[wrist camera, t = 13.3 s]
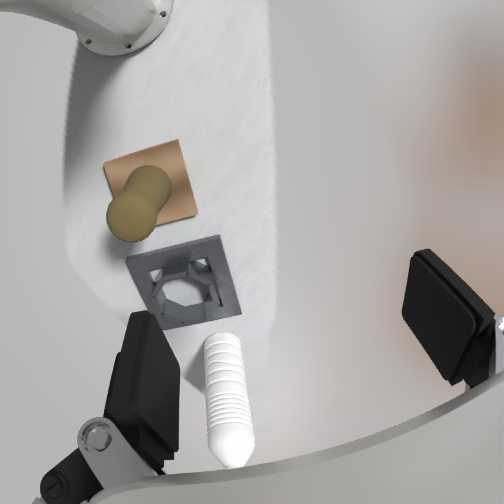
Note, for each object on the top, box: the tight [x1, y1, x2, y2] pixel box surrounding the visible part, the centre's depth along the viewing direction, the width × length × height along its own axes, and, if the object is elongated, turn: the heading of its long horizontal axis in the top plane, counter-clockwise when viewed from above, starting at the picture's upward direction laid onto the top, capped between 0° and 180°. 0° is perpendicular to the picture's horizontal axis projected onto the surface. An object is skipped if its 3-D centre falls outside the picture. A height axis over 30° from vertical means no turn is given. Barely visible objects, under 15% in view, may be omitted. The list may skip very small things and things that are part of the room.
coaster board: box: [103, 139, 198, 225], centre depth 36 cm, size 10×10×1 cm
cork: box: [106, 165, 172, 243], centre depth 31 cm, size 6×6×11 cm
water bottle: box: [204, 332, 255, 469], centre depth 42 cm, size 9×6×25 cm
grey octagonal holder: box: [126, 235, 242, 330], centre depth 43 cm, size 14×14×4 cm
